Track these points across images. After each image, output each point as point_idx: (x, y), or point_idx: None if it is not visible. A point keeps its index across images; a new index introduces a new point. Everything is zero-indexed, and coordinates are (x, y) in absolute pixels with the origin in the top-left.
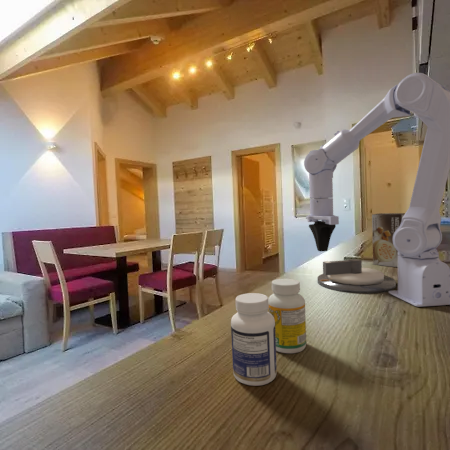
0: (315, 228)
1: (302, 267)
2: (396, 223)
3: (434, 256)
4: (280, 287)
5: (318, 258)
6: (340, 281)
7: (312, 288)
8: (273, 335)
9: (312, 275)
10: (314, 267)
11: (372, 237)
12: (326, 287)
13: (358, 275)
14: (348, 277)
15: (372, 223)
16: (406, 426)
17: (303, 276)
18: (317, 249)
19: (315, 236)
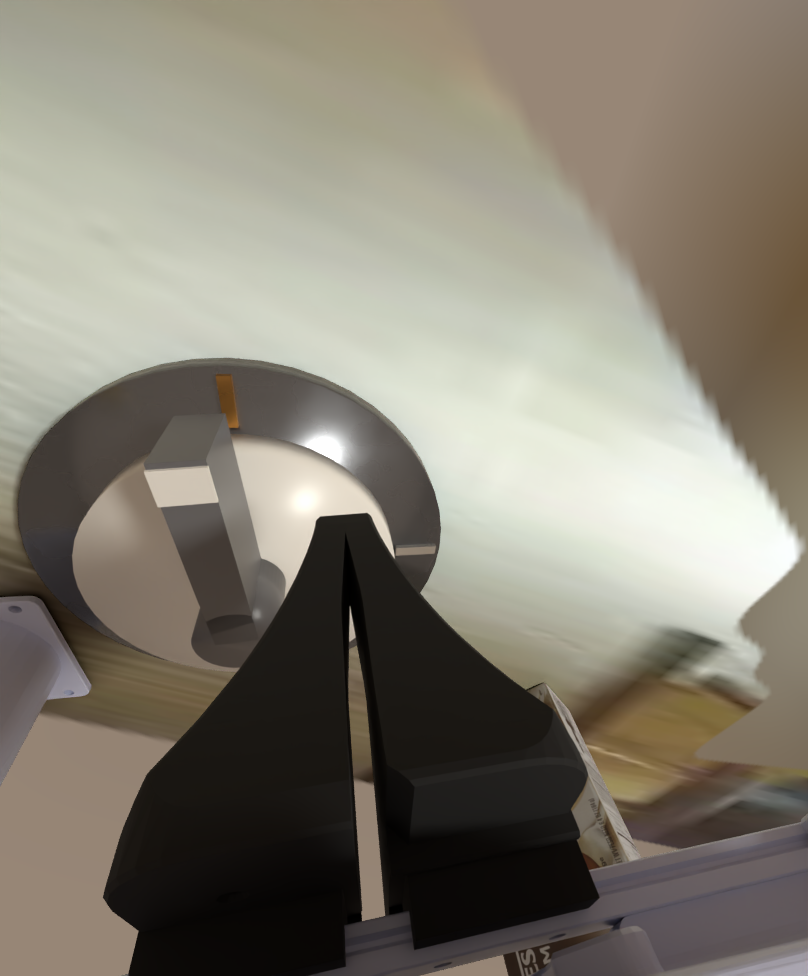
0: (207, 756)
1: (692, 417)
2: (527, 958)
3: None
4: None
5: (793, 556)
6: (128, 466)
7: (131, 269)
8: None
9: (479, 402)
10: (645, 478)
11: (605, 813)
12: (143, 370)
13: (157, 575)
14: (101, 518)
15: None
16: None
17: (479, 337)
18: (370, 517)
19: (366, 617)
